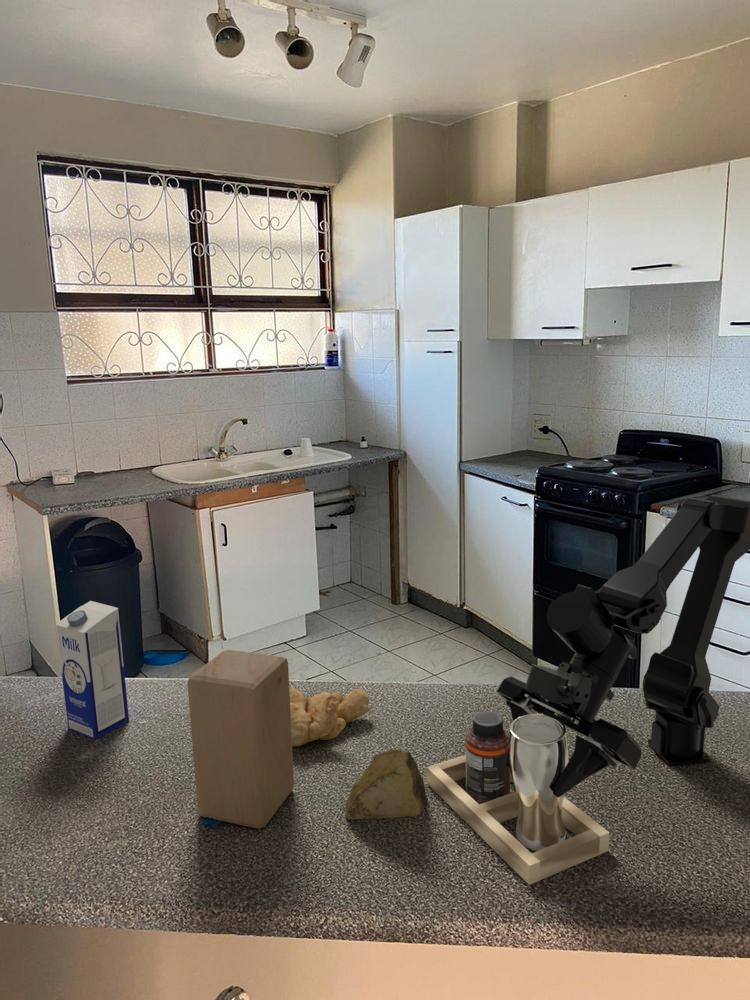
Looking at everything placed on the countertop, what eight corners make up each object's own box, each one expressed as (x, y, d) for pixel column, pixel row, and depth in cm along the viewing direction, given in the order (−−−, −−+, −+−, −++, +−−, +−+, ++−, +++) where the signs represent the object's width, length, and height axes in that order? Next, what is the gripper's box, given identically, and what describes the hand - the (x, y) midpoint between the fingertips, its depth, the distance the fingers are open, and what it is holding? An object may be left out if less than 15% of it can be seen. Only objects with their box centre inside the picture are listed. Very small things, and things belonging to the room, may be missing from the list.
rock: (328, 816, 94) (402, 823, 90) (336, 745, 97) (408, 749, 94) (361, 821, 103) (430, 828, 99) (367, 756, 106) (434, 760, 103)
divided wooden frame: (426, 783, 104) (426, 767, 104) (496, 760, 109) (497, 744, 109) (529, 885, 84) (529, 865, 84) (608, 850, 90) (609, 832, 89)
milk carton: (130, 721, 123) (118, 606, 118) (95, 740, 117) (82, 620, 113) (102, 710, 126) (90, 599, 122) (67, 728, 121) (53, 612, 117)
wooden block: (297, 788, 103) (290, 654, 99) (263, 833, 94) (254, 687, 90) (233, 776, 107) (224, 646, 102) (195, 818, 98) (183, 677, 93)
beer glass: (581, 838, 92) (580, 730, 88) (540, 863, 88) (537, 752, 84) (541, 809, 97) (538, 706, 94) (500, 831, 94) (496, 726, 90)
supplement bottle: (494, 776, 105) (495, 703, 103) (518, 799, 100) (520, 723, 98) (457, 787, 103) (457, 712, 101) (480, 811, 98) (480, 733, 95)
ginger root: (240, 742, 113) (245, 689, 113) (287, 717, 128) (292, 670, 128) (334, 764, 108) (339, 709, 108) (372, 735, 123) (377, 687, 123)
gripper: (507, 617, 97) (443, 722, 93) (631, 666, 82) (562, 793, 78) (546, 657, 103) (488, 757, 99) (668, 709, 88) (606, 829, 84)
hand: (531, 781), depth 90 cm, fingers open, 7 cm apart
